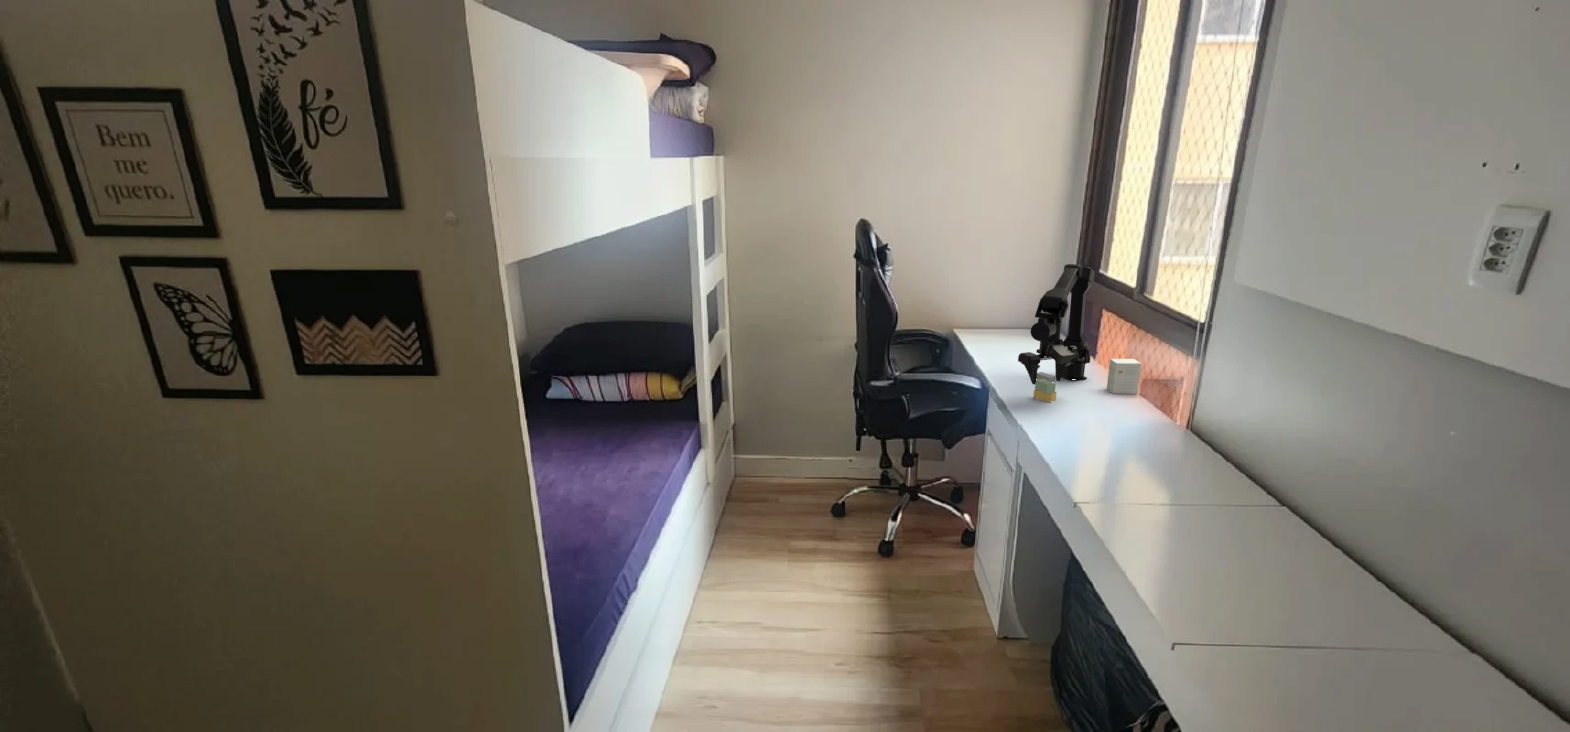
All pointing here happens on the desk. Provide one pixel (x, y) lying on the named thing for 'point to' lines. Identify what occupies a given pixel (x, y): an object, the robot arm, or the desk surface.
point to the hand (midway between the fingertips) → (1045, 382)
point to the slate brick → (1045, 376)
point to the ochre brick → (1044, 395)
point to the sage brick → (1045, 386)
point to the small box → (1123, 376)
